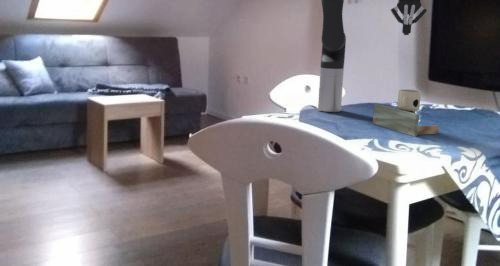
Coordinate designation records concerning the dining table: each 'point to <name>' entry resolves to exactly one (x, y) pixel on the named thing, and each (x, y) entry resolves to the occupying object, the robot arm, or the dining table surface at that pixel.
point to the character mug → (409, 100)
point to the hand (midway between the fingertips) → (406, 35)
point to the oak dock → (401, 121)
